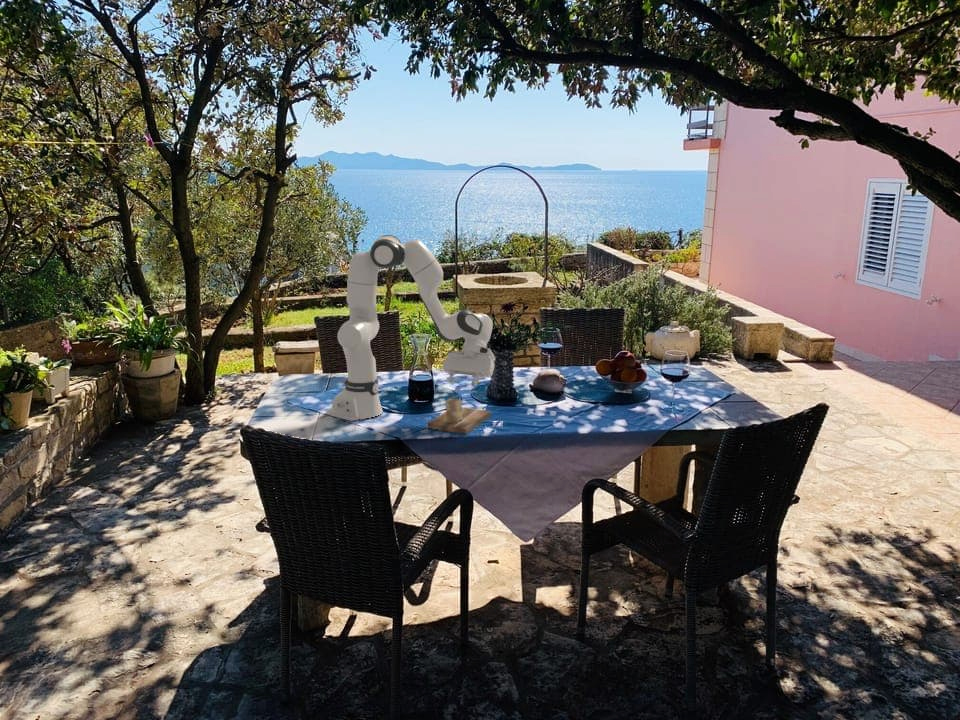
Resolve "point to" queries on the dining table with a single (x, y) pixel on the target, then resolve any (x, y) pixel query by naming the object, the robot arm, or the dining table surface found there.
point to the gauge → (454, 410)
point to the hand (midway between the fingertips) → (462, 383)
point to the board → (469, 421)
